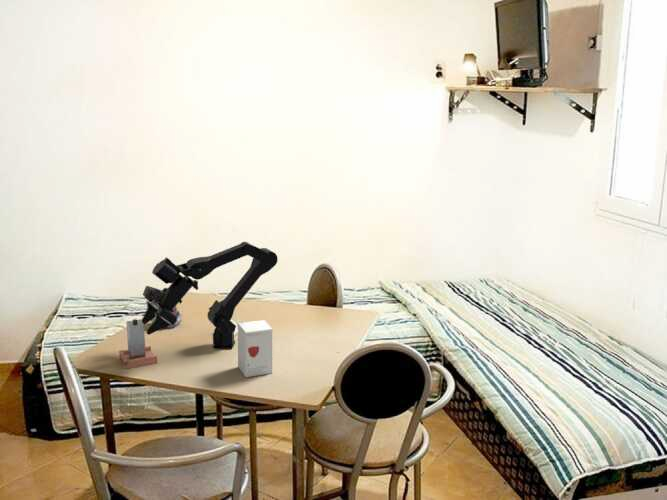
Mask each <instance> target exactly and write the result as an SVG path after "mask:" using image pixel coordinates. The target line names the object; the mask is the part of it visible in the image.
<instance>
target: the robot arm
mask: <svg viewBox="0 0 667 500" xmlns="http://www.w3.org/2000/svg"><path fill="white" fill-rule="evenodd" d="M246 256H249V257H250V258H252V259H251V264H250V267H249V268H248V270H247V271H246V272H245V273H244V274H243V275H242V277H241V278H240V279H239V281H237V283H236V285H234V287H233V288H232V289H231V290H230V292H229V293H228V294H227V295H226V296H225V298H224V299H223V300H220V301H218V300H217V299H215V301H214V302H213V303H212V306H210V307H208V312H207V314H206V316H207V319H208V321H209V322H210V323H211V324H212V325H213V327H215V328H214V329H213V333H212V345H213V346H212V347H213V349H216V350H220V349H222V350H233V348H234V346H235V344H236V340H235V330H236V328H237V325H235V323H234V322H233V321H231V319H233V315H234V313H235V310H236V309H235V308H236V307H237V306H238V305H239V303H240V302H241V301H242V300H243V298H244V297H245V296H246V294H247V293H248V292H249V291H250V290H251V288H253V286H254V285H255V284H256V282H258V280H259V279H260V277H261V276H263V275H264V274H267V273H268V272H269V271H271V270H272V269H273V268H274V267H275V266H276V265H277V264H278V262H279V259H278V255H277V254H276V253H275V252H274V251H272V250H271V249H269V248H267V247H261V248H260V247H258V246H255V245H254V244H251V243H249V242H248V241H242V242H241V243H239V244H236V245H234V246H232V247H229V248H225V249H224V250H221V251H219V252H216V253H214V254H211V255H208V256H199V257H195V258H190V259H189V260H187V261H186V262H183V263H180V264H175V263H173V262H172V260H170V259H169V258H168V257H165V258H164V259H163V260H161V261H159V262H158V263H156V265H155V266H154V267H153V269H152V274H153V275H154V276H155V277H156V278H158V279H159V280H160V281H162V282H163V283H164V284H165V285H167V284H170V285H169V286H168V287H163V288H162V289H159V288H156V287H153V286H150V285H145V288H144V290H143V293H142V296H143V297H144V298H145V299H146V301H145V302H146V309H145V312H144V314H143V316H142V319H141V321H142V322H143V324H144V326H145V325H146V324H148V323H150V322H152V321H151V320H152V319H155V320H154V321H153V322H152V323H151V324H150V326H149V327H148V329H147V330H146V332H145V333H146V334H147V335H148V336H150V335H151V334H154V333H156V332H157V331H160V330H162V329H165V328H164V327H167V326H171V324H172V325H174V324H175V323H176V321H177V316H176V315H175V314H174V313H173V312H174V310H173V309H174V307H175V306H176V307H177V305H178V304H179V303H180V304H182V303H183V300H182V299H183V298H184V297H185V296H186V295H187V293H188V292H189V291H190V290H191V288H194V290H196V291H197V290H199V285H198V284H199V280H201V279H203V278H205V277H206V276H208V275H210V274H211V273H212V272H213V271H214V270H215V269H217V268H220V267H222V266H224V265H226V264H228V263H232V262H234V261H237V260H239V259H241V258H243V257H246ZM191 278H192V279H191ZM193 279H194V280H193ZM170 323H171V324H170Z"/></svg>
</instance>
